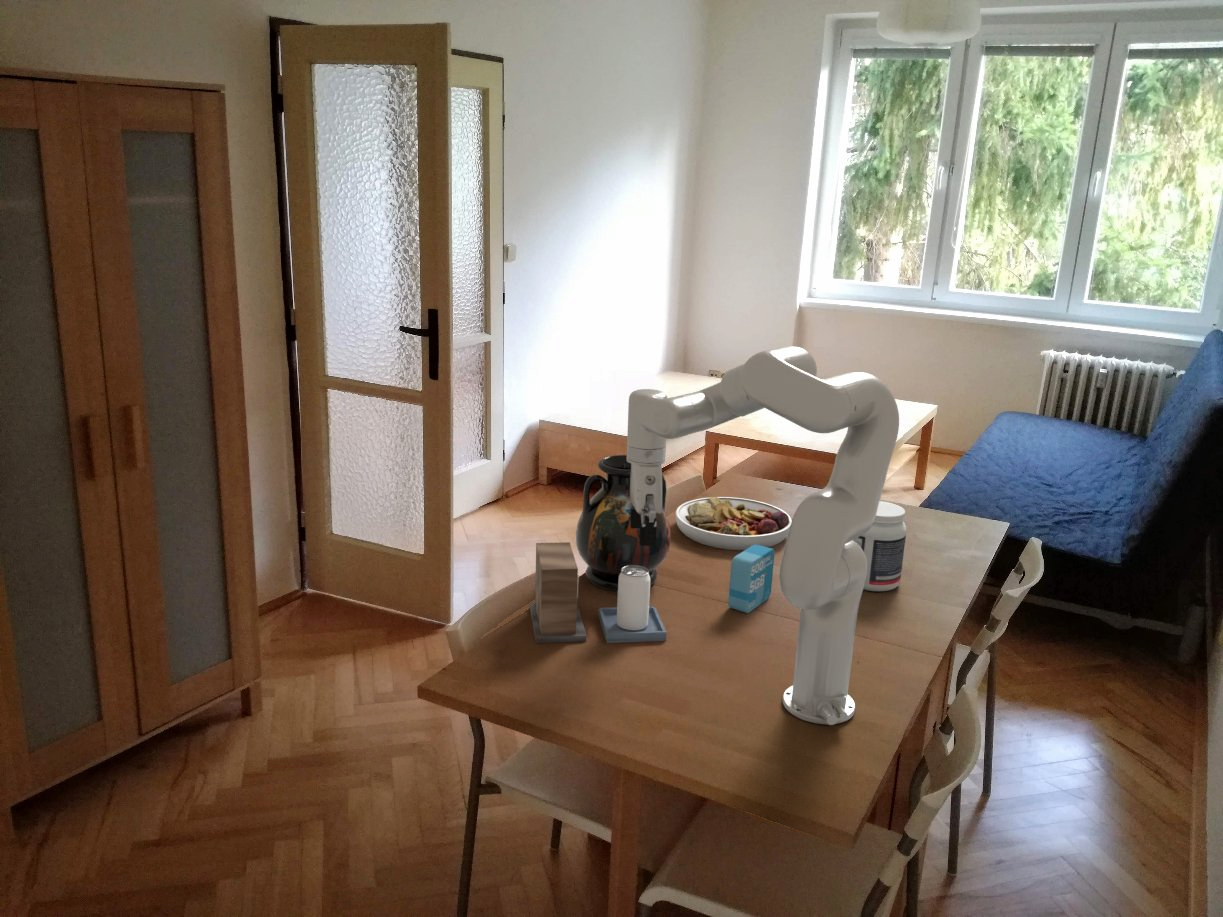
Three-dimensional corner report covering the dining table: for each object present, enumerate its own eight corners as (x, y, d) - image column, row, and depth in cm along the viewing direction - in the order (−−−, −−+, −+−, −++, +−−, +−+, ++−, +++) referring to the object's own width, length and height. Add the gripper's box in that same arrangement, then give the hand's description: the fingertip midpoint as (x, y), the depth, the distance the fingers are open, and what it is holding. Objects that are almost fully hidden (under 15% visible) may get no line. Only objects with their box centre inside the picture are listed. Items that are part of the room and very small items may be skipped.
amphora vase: (587, 602, 213) (591, 479, 205) (565, 564, 233) (568, 450, 225) (681, 594, 219) (688, 474, 211) (651, 558, 239) (657, 447, 231)
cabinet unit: (586, 641, 196) (588, 570, 192) (536, 643, 194) (537, 571, 190) (576, 606, 211) (578, 540, 207) (529, 608, 210) (531, 541, 205)
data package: (745, 615, 210) (750, 563, 207) (727, 609, 213) (731, 558, 209) (770, 597, 220) (775, 547, 216) (752, 591, 222) (757, 542, 219)
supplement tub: (903, 578, 233) (913, 504, 228) (894, 598, 222) (904, 521, 216) (849, 567, 238) (857, 495, 233) (837, 586, 227) (845, 511, 221)
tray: (666, 640, 198) (666, 632, 197) (606, 642, 196) (607, 634, 195) (654, 614, 209) (654, 606, 208) (598, 616, 207) (598, 608, 206)
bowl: (662, 544, 248) (663, 515, 246) (688, 508, 276) (690, 481, 274) (781, 562, 240) (784, 532, 238) (796, 522, 268) (799, 495, 266)
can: (610, 627, 201) (613, 572, 197) (625, 615, 206) (627, 562, 203) (639, 634, 198) (642, 579, 194) (653, 622, 203) (656, 568, 200)
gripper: (674, 466, 184) (670, 551, 188) (656, 441, 200) (652, 521, 205) (635, 466, 182) (631, 553, 187) (619, 442, 199) (616, 521, 204)
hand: (642, 536), depth 196 cm, fingers open, 9 cm apart
